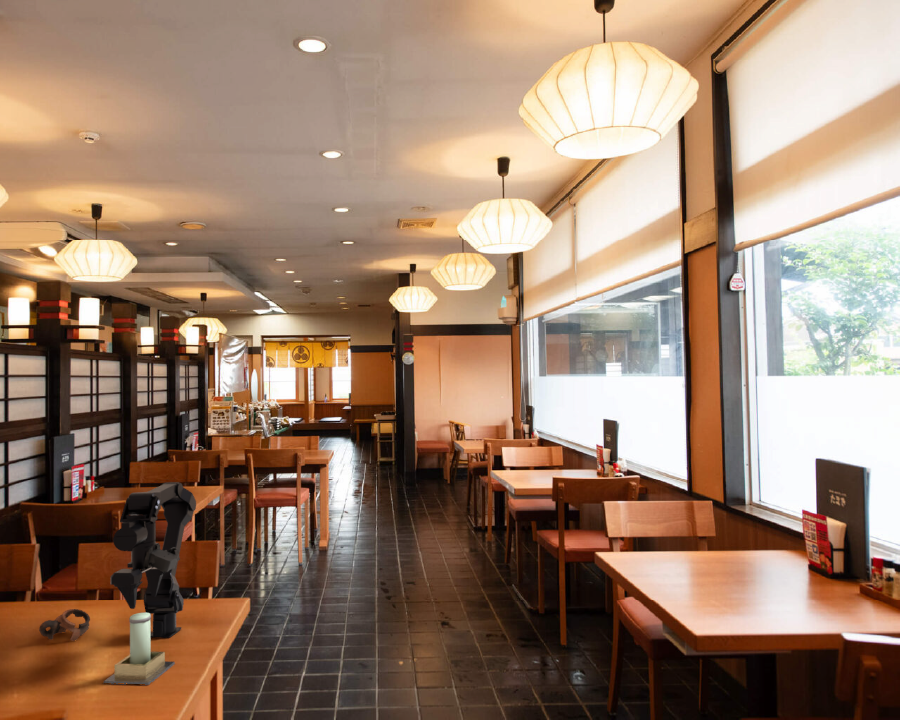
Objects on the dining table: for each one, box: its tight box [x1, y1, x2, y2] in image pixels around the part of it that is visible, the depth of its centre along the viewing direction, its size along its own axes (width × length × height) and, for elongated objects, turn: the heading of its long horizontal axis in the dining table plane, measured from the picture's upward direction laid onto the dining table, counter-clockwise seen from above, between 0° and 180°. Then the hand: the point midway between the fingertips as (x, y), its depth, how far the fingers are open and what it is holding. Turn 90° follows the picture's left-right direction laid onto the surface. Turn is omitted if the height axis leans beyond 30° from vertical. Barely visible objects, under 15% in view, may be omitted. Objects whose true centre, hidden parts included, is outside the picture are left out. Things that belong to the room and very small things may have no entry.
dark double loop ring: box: [38, 608, 91, 642], centre depth 174 cm, size 12×10×8 cm
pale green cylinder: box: [129, 611, 152, 664], centre depth 152 cm, size 5×5×13 cm
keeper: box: [103, 651, 176, 686], centre depth 151 cm, size 11×11×4 cm
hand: (143, 602), depth 163 cm, fingers open, 9 cm apart
